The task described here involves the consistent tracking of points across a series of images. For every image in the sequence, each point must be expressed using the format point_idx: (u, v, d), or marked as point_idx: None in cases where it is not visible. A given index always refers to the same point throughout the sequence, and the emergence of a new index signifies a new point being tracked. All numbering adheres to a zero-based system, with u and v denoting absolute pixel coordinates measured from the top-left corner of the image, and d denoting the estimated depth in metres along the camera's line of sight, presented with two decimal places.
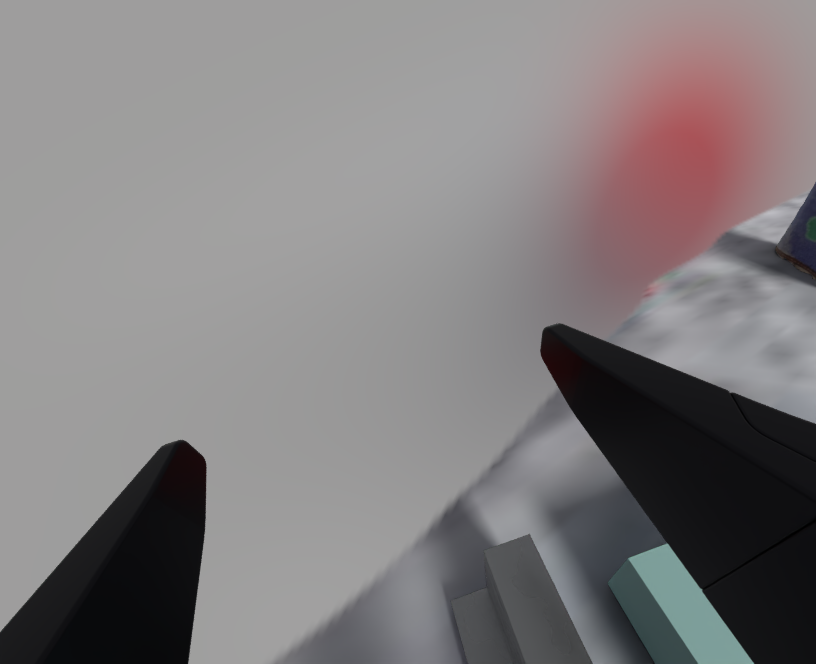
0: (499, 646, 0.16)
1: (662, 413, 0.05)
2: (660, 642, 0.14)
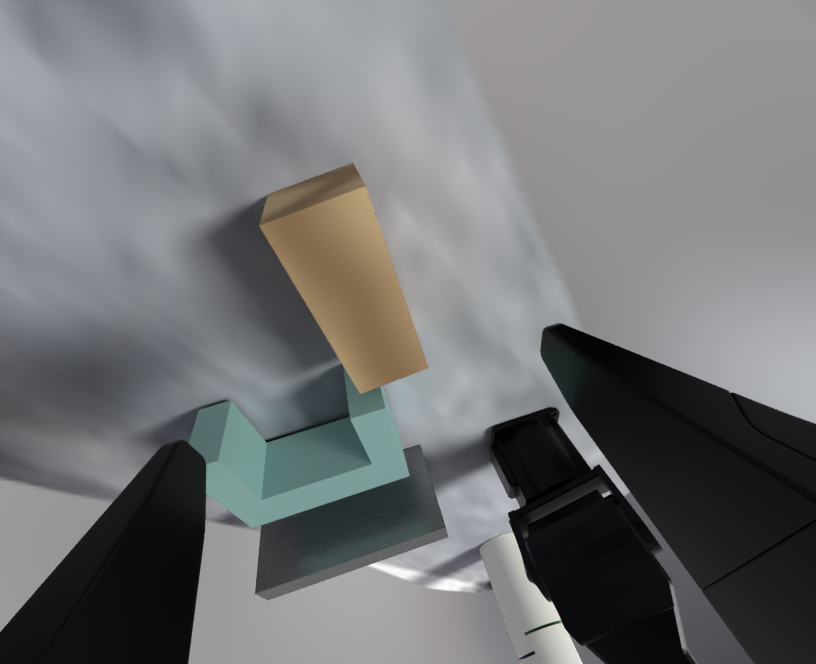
0: None
1: (662, 413, 0.05)
2: None
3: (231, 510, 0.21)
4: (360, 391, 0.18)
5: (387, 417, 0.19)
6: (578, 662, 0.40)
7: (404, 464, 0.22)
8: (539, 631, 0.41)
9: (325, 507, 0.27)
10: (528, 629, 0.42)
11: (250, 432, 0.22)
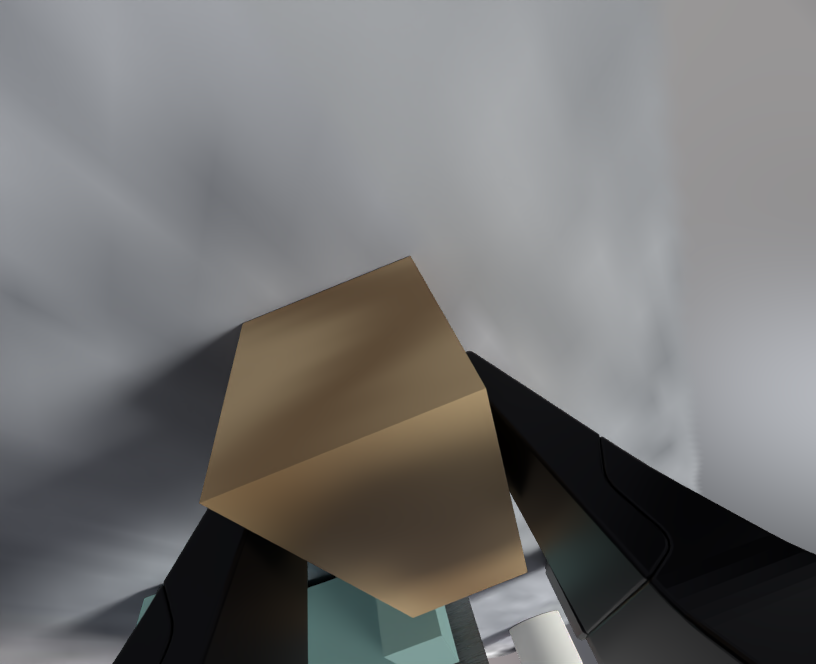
0: None
1: (532, 457, 0.05)
2: None
3: None
4: (413, 615, 0.11)
5: (442, 640, 0.12)
6: None
7: (454, 657, 0.15)
8: None
9: None
10: None
11: None
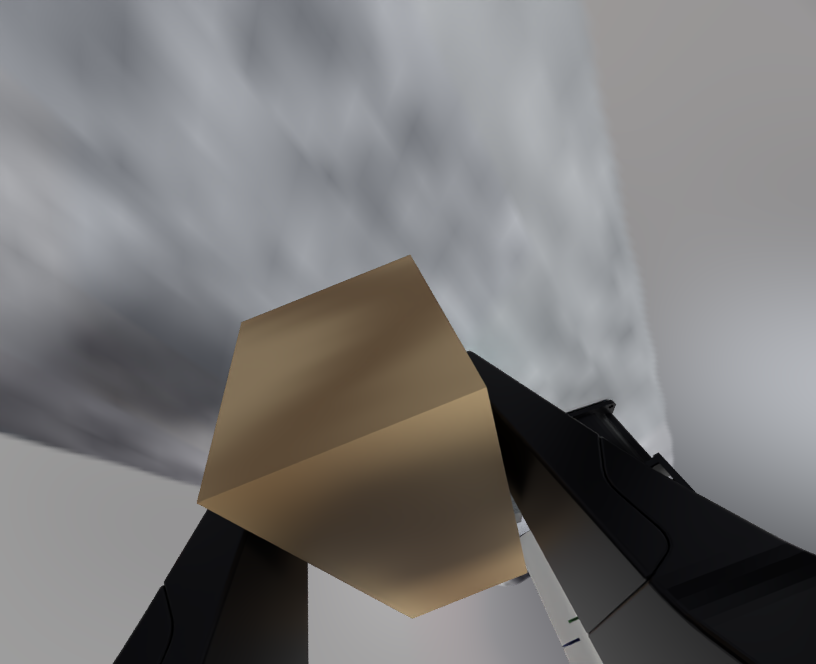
0: None
1: (532, 457, 0.05)
2: None
3: None
4: (413, 616, 0.11)
5: None
6: None
7: None
8: None
9: None
10: (572, 617, 0.43)
11: None
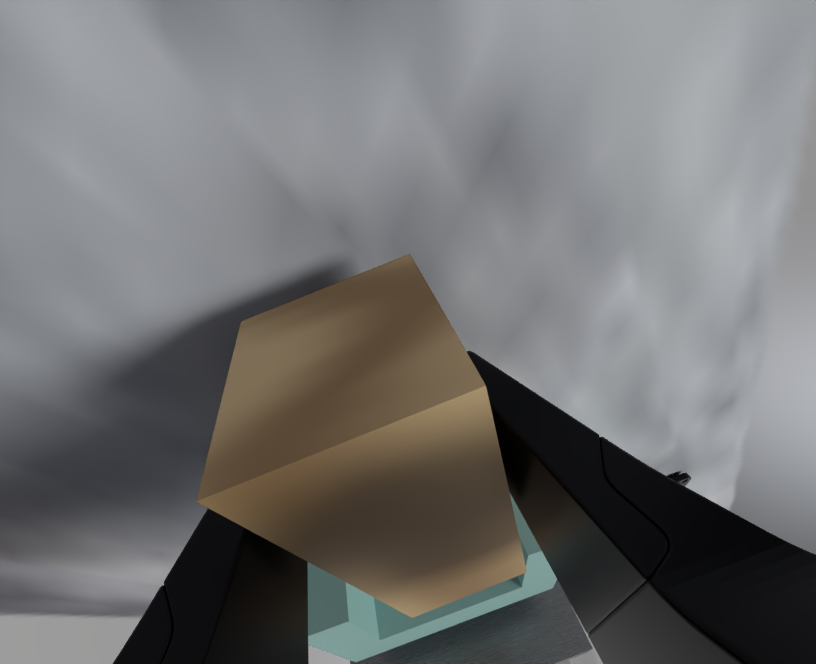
0: None
1: (532, 457, 0.05)
2: None
3: (341, 655, 0.15)
4: (412, 616, 0.11)
5: None
6: None
7: (555, 580, 0.17)
8: None
9: None
10: None
11: None
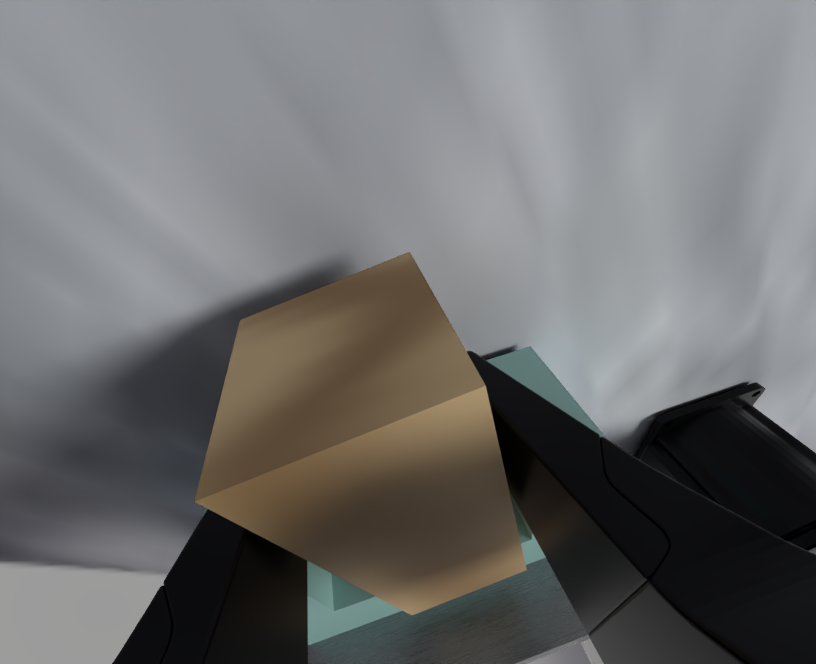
0: None
1: (533, 457, 0.05)
2: None
3: None
4: (412, 613, 0.11)
5: None
6: None
7: None
8: None
9: None
10: None
11: None
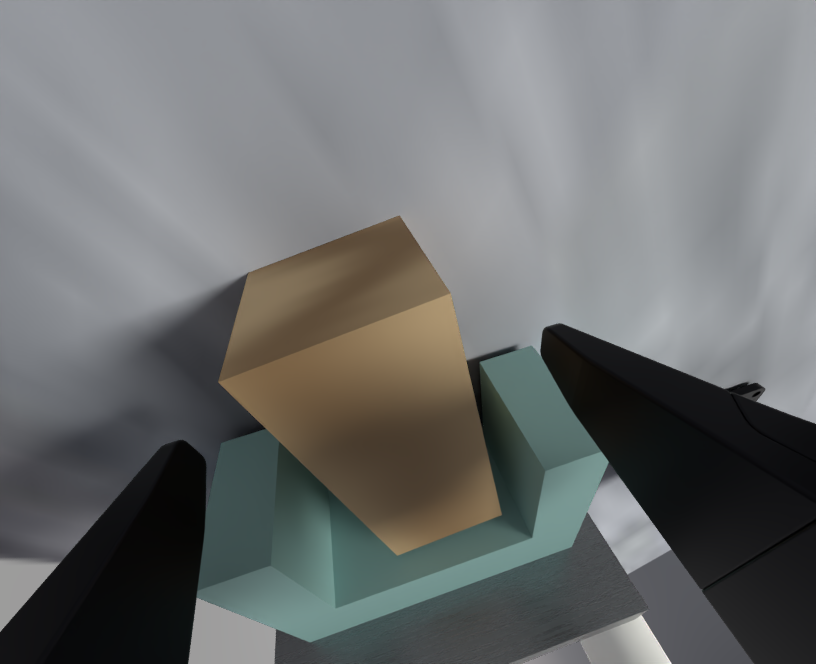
0: None
1: (662, 413, 0.05)
2: None
3: (281, 628, 0.11)
4: (397, 553, 0.12)
5: (606, 463, 0.09)
6: None
7: (575, 533, 0.13)
8: None
9: None
10: None
11: (309, 479, 0.12)
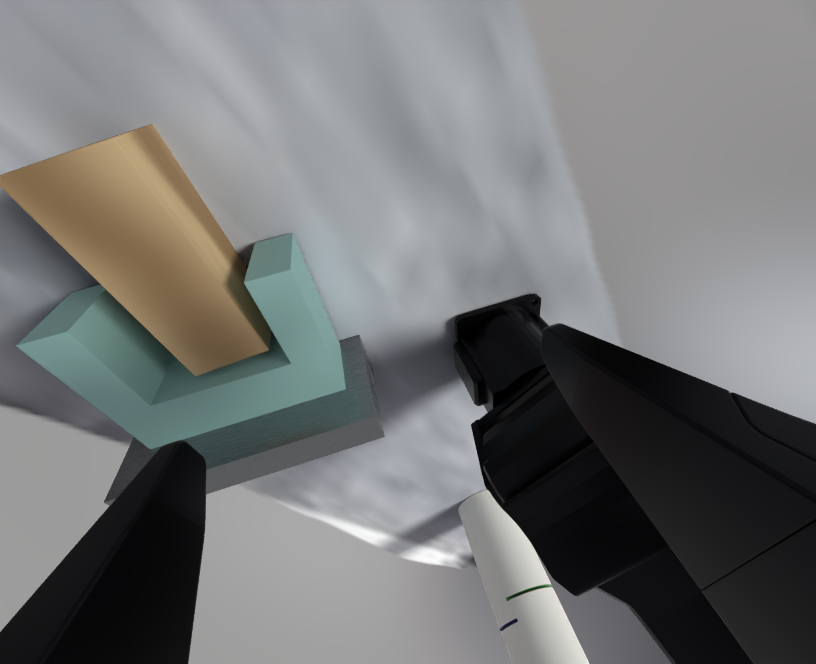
0: None
1: (662, 413, 0.05)
2: None
3: (112, 418, 0.17)
4: (194, 373, 0.17)
5: (296, 287, 0.15)
6: (570, 631, 0.33)
7: (335, 370, 0.18)
8: (523, 595, 0.34)
9: None
10: (510, 594, 0.35)
11: (145, 329, 0.18)
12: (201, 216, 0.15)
